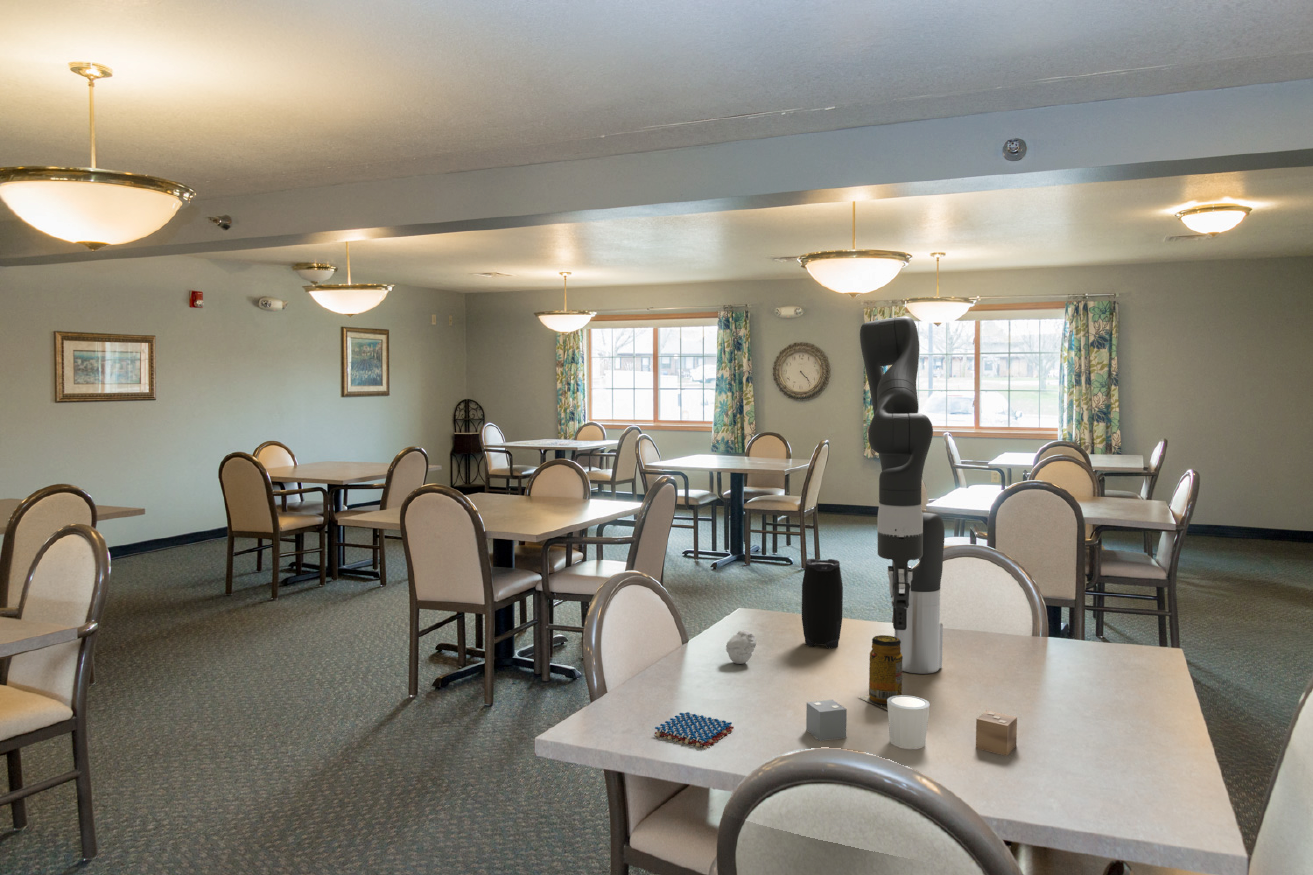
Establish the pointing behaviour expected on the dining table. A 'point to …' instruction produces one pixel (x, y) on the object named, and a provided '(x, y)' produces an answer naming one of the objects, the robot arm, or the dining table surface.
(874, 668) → the condiment
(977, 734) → the walnut dotted block
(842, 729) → the slate dotted block
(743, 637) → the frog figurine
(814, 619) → the portable speaker
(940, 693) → the dining table surface
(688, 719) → the woven mat
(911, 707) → the shot glass
